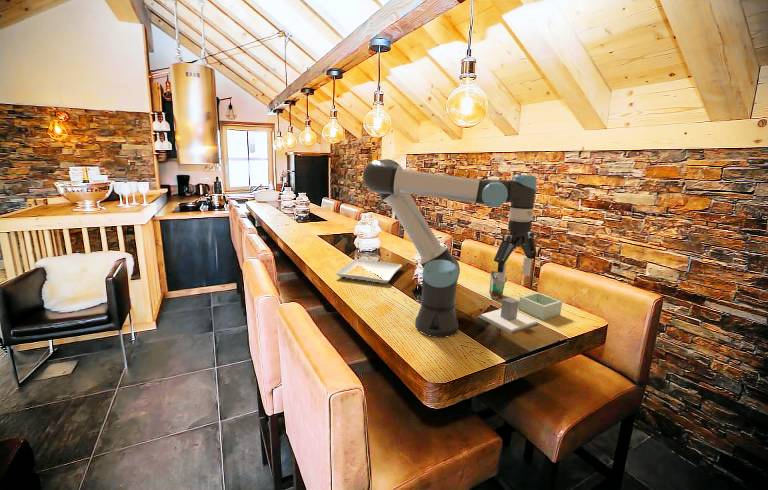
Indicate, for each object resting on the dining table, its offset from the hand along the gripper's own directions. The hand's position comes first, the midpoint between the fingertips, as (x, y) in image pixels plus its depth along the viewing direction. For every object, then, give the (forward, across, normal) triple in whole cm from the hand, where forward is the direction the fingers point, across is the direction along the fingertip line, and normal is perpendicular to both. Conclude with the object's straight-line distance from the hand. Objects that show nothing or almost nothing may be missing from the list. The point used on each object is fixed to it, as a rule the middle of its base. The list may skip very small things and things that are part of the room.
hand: (513, 277), depth 128 cm
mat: (+17, 0, 0) cm, 17 cm away
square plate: (+17, -19, +71) cm, 76 cm away
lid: (+17, 0, 0) cm, 17 cm away
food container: (+17, +16, +19) cm, 30 cm away
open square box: (+17, +17, -1) cm, 24 cm away
